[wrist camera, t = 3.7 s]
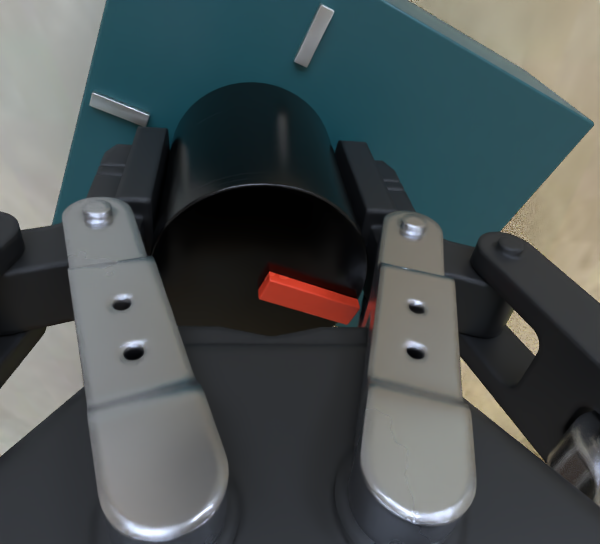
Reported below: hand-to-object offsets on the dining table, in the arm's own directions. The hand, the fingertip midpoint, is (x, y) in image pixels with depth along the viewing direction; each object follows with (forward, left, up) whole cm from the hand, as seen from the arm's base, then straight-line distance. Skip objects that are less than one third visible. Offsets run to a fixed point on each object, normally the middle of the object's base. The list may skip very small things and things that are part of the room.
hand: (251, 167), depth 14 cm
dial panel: (+2, 0, -5) cm, 5 cm away
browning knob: (0, 0, 0) cm, 0 cm away
